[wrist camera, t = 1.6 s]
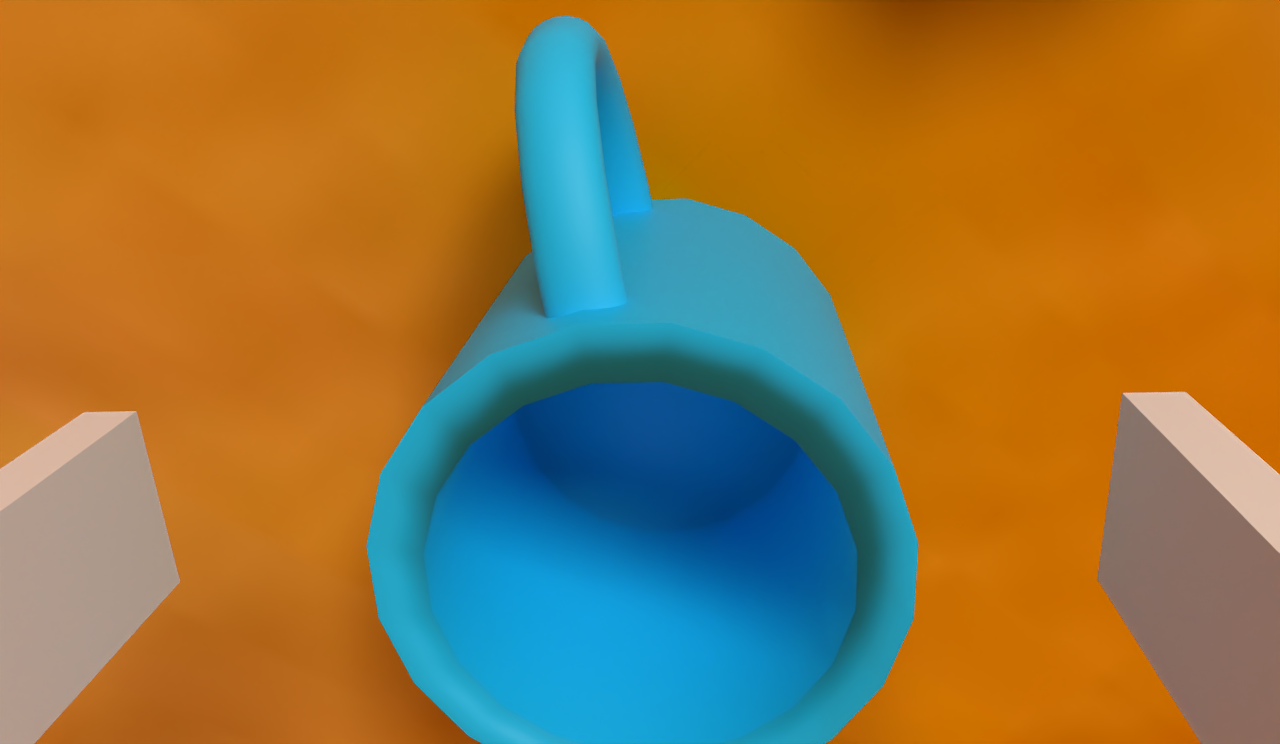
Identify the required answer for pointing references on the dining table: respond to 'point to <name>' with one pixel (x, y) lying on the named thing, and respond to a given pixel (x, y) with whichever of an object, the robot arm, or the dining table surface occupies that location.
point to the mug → (642, 468)
